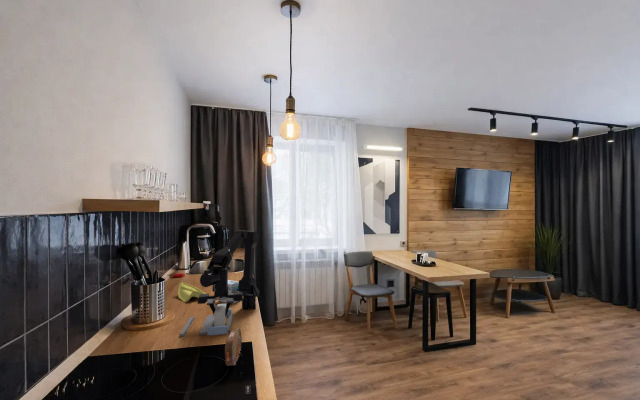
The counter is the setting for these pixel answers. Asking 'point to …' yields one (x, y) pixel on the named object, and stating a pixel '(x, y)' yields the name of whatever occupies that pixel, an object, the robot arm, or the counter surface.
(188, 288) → the plastic component
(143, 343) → the counter surface
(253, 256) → the robot arm
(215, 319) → the white rectangular prism
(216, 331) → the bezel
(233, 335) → the tin
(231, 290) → the light bulb box
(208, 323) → the grey long bars
